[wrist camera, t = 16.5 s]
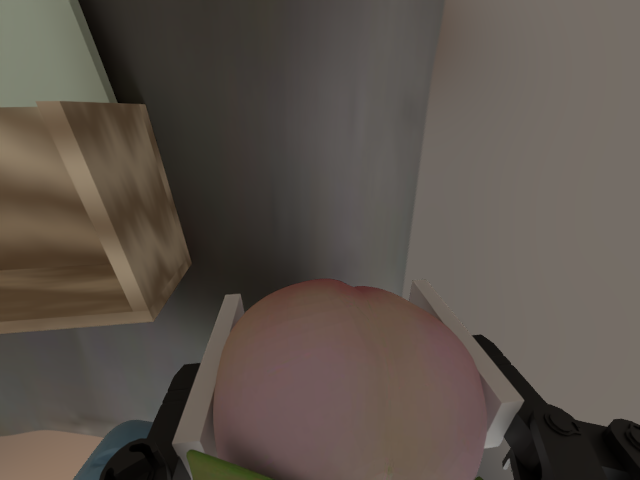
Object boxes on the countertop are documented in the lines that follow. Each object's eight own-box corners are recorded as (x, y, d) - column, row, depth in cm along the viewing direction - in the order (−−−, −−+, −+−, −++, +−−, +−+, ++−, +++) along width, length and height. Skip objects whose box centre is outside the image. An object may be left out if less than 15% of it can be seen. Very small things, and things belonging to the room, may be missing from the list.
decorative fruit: (228, 345, 15) (131, 698, 6) (254, 218, 11) (123, 579, 3) (374, 364, 17) (468, 647, 8) (432, 259, 13) (706, 544, 5)
